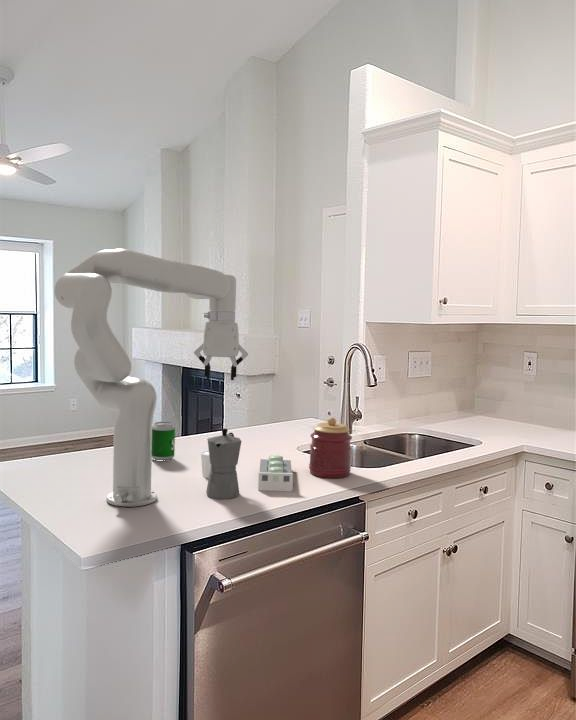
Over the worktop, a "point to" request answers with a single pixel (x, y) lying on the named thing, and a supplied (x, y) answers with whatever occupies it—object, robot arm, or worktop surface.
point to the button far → (275, 458)
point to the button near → (275, 470)
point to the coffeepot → (223, 466)
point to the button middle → (275, 464)
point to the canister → (330, 450)
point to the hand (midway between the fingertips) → (220, 378)
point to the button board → (275, 477)
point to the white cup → (205, 464)
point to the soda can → (163, 441)
